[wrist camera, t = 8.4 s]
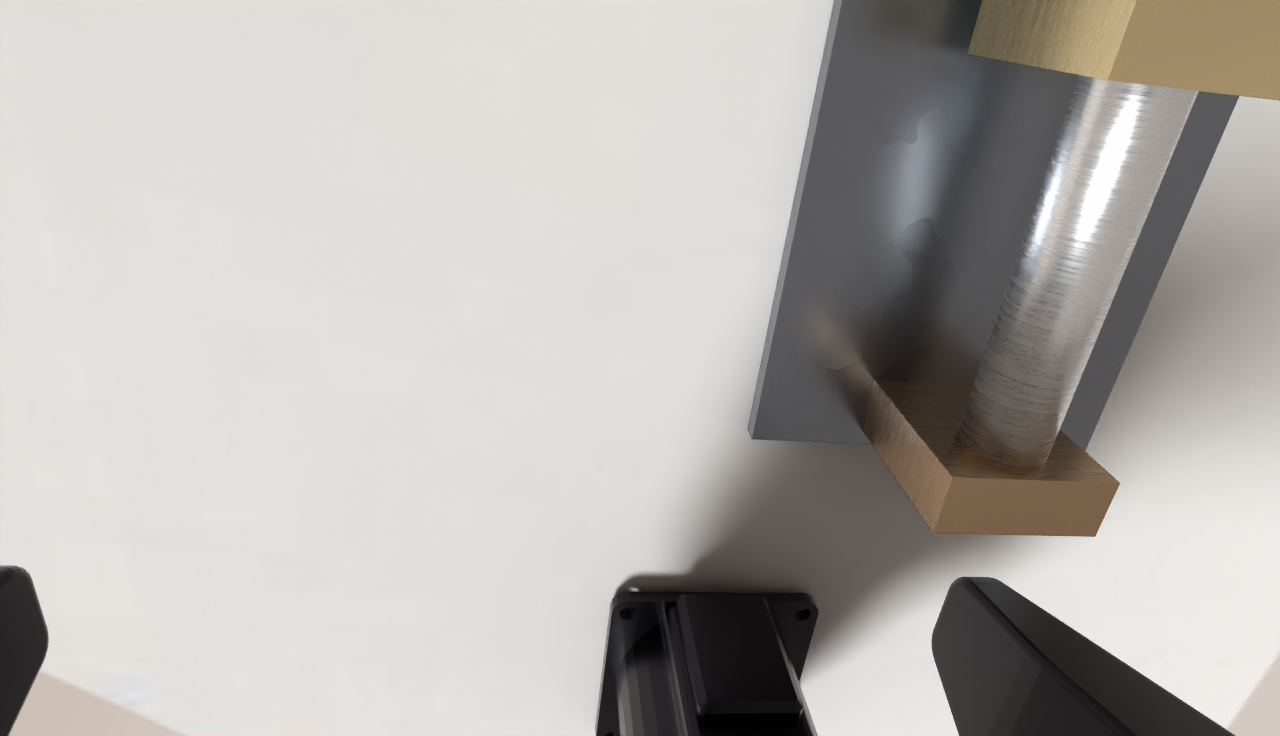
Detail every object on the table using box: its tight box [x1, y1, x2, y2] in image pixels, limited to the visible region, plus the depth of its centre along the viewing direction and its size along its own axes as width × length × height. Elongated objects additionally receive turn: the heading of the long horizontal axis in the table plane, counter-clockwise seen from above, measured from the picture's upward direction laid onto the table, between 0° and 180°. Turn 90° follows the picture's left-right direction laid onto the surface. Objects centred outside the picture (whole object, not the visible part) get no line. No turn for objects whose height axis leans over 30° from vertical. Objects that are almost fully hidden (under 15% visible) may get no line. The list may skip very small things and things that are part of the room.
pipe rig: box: [748, 0, 1239, 537], centre depth 15 cm, size 22×10×5 cm, turn 173°
